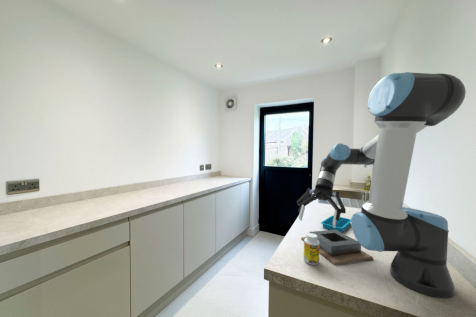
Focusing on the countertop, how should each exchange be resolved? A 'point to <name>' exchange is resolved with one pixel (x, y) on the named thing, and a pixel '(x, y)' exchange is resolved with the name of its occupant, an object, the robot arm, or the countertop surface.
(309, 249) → the supplement bottle
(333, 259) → the brown base board
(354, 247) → the square socket
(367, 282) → the countertop surface
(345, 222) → the ice cube tray
